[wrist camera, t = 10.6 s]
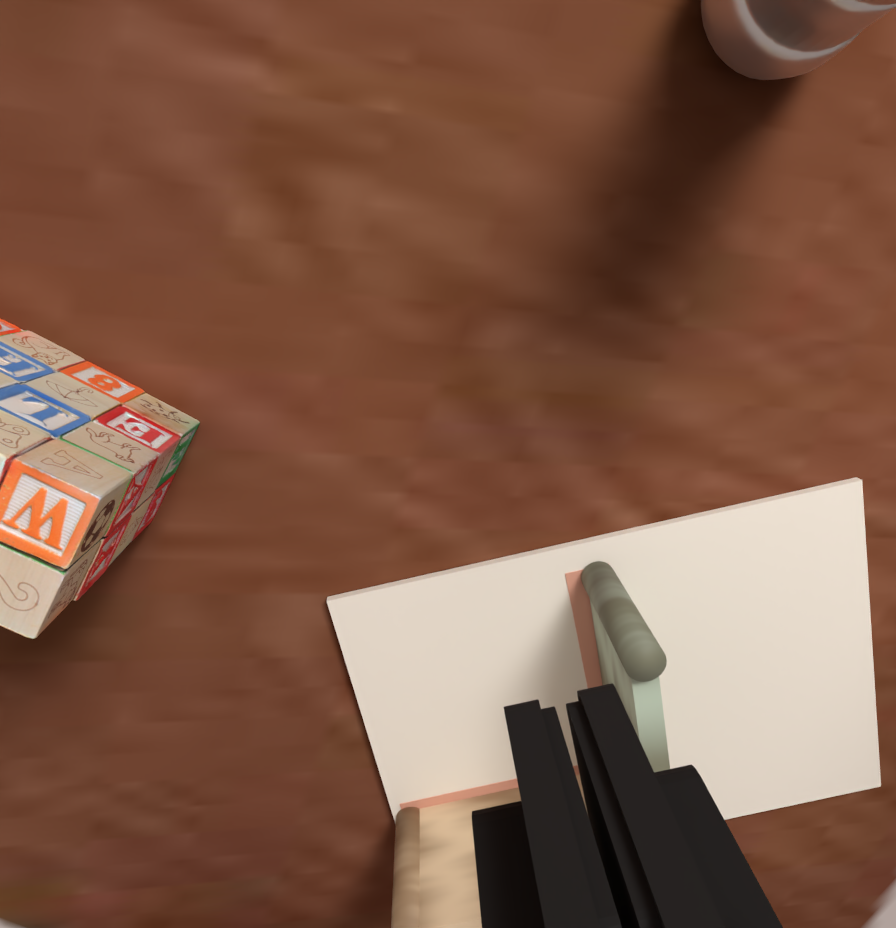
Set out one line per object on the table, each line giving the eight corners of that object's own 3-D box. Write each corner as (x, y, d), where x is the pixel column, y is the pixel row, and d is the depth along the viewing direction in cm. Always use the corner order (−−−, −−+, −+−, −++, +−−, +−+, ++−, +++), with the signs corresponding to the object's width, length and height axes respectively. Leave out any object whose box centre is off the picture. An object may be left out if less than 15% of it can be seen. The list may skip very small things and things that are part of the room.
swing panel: (638, 751, 41) (691, 872, 33) (607, 757, 41) (653, 879, 33) (612, 558, 38) (664, 640, 30) (579, 564, 38) (621, 648, 30)
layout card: (856, 477, 38) (862, 480, 37) (875, 780, 43) (881, 787, 43) (327, 596, 39) (326, 601, 38) (414, 878, 44) (414, 886, 44)
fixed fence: (639, 754, 42) (693, 878, 33) (644, 782, 42) (698, 910, 34) (392, 808, 42) (385, 943, 34) (400, 834, 43) (395, 973, 34)
